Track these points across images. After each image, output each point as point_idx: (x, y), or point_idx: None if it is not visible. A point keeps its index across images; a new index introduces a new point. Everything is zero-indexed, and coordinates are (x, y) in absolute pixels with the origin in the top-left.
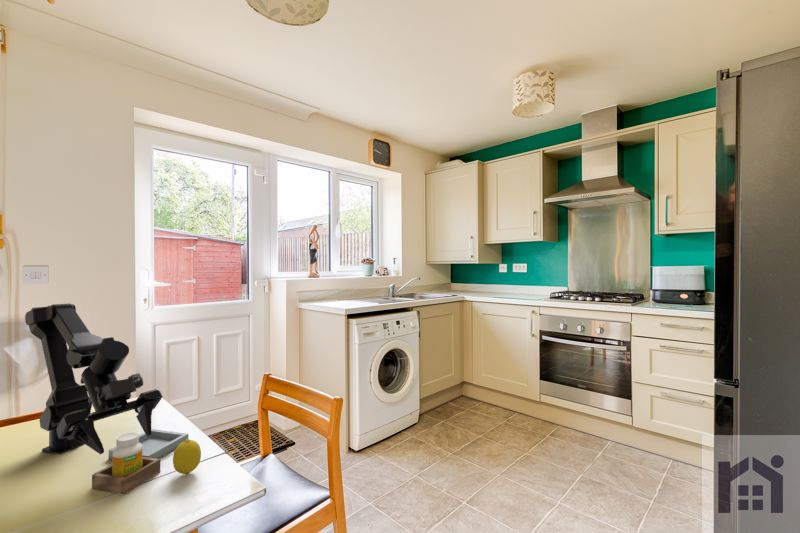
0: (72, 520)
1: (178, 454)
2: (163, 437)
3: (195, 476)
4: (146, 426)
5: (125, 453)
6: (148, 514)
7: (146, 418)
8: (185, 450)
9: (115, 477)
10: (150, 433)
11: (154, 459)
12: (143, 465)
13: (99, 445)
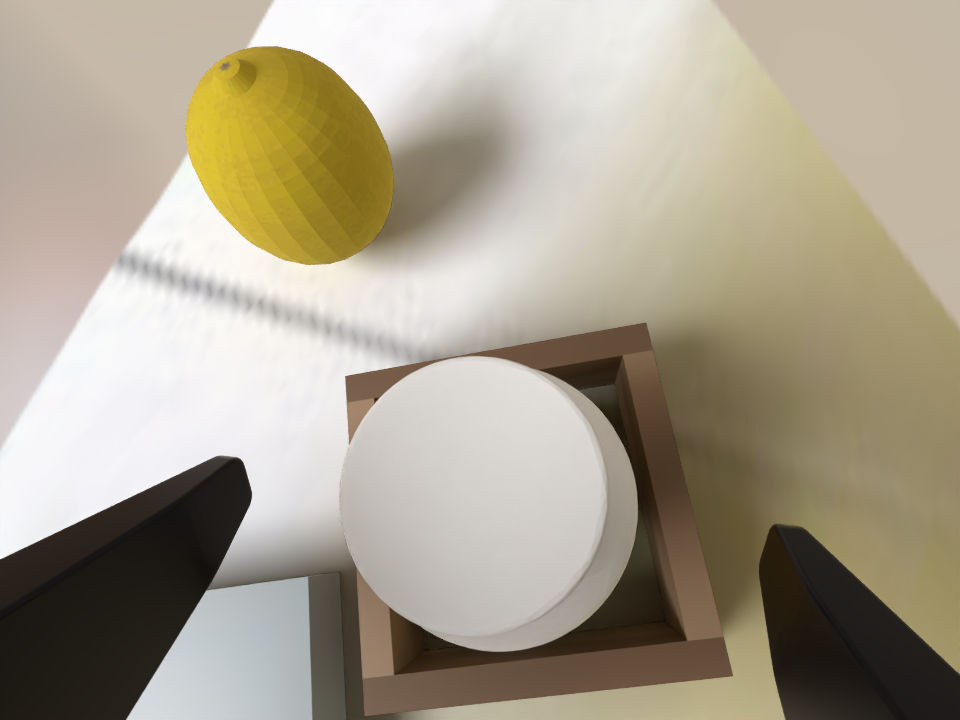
0: (929, 373)
1: (354, 108)
2: None
3: None
4: (153, 546)
5: (577, 394)
6: (670, 86)
7: (18, 595)
8: (318, 61)
9: (654, 426)
10: (226, 456)
11: (361, 415)
12: None
13: (855, 589)
